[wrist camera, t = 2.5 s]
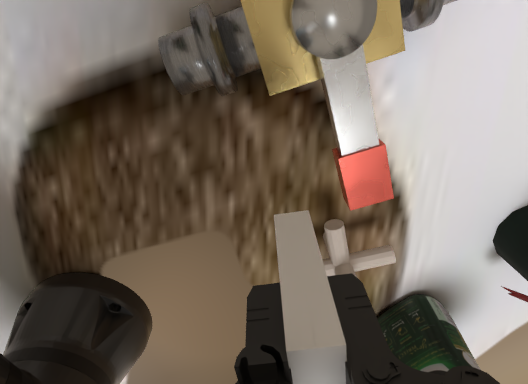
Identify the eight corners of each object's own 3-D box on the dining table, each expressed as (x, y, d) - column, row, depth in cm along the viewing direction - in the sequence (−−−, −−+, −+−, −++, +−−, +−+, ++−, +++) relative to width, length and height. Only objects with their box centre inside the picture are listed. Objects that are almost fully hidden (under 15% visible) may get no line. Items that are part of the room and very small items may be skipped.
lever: (279, -15, 18) (282, -19, 16) (358, -45, 17) (369, -52, 16) (334, 200, 24) (340, 213, 22) (393, 183, 23) (404, 195, 22)
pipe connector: (296, 278, 39) (309, 351, 30) (277, 209, 35) (286, 271, 26) (379, 260, 38) (417, 330, 29) (370, 187, 34) (412, 244, 25)
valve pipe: (197, 102, 29) (176, 130, 21) (163, 18, 26) (123, 15, 18) (443, 17, 27) (525, 14, 19) (437, -86, 24) (532, -143, 16)
